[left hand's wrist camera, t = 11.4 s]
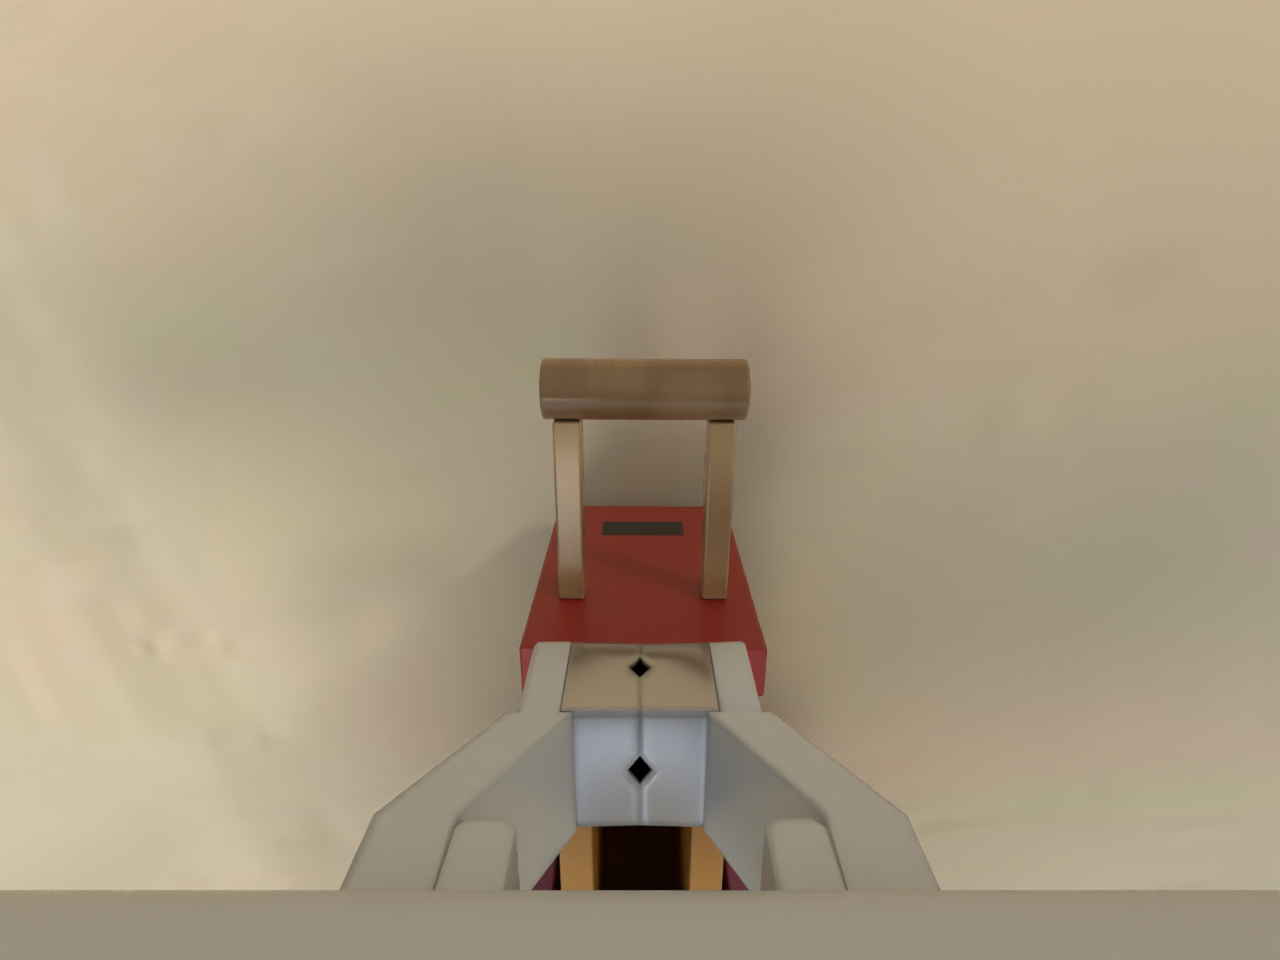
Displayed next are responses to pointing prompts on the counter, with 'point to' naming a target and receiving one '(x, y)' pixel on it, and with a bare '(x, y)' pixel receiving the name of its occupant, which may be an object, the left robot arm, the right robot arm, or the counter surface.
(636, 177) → the counter surface
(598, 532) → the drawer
